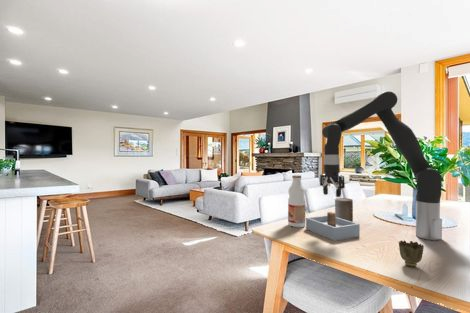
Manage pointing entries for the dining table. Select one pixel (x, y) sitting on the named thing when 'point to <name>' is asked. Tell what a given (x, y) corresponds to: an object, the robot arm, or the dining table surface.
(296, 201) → the fruit juice
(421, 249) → the mottled brown rounded lump
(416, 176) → the robot arm
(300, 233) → the dining table surface
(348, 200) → the pillar candle
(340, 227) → the box
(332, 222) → the peg
